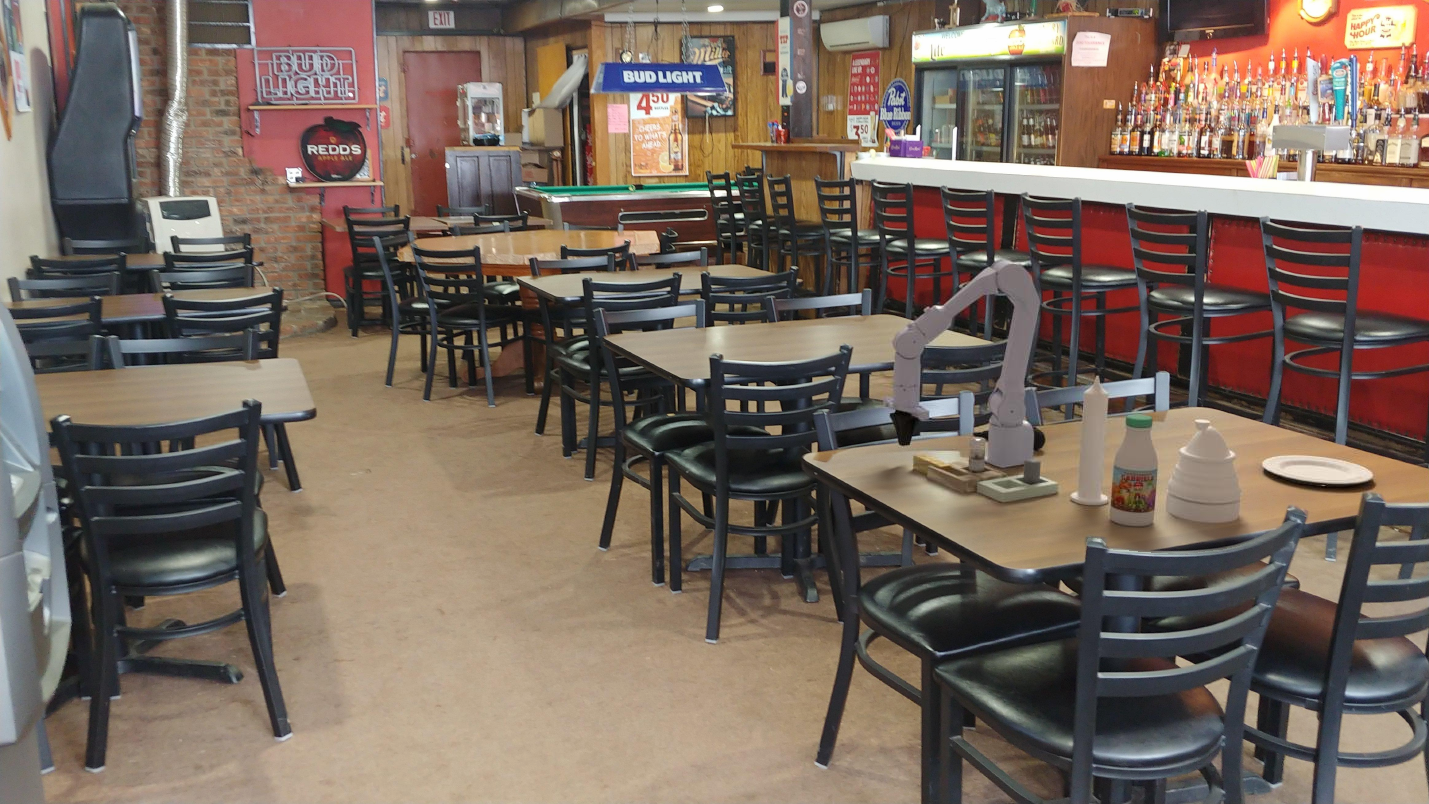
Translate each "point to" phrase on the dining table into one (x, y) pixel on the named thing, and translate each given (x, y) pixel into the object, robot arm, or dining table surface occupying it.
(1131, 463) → the milk bottle
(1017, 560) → the dining table surface
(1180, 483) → the honey pot
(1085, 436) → the candle
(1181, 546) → the dining table surface
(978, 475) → the socket block
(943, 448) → the dining table surface
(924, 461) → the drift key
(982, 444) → the glass jar
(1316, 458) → the plate
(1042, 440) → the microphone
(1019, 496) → the rack
